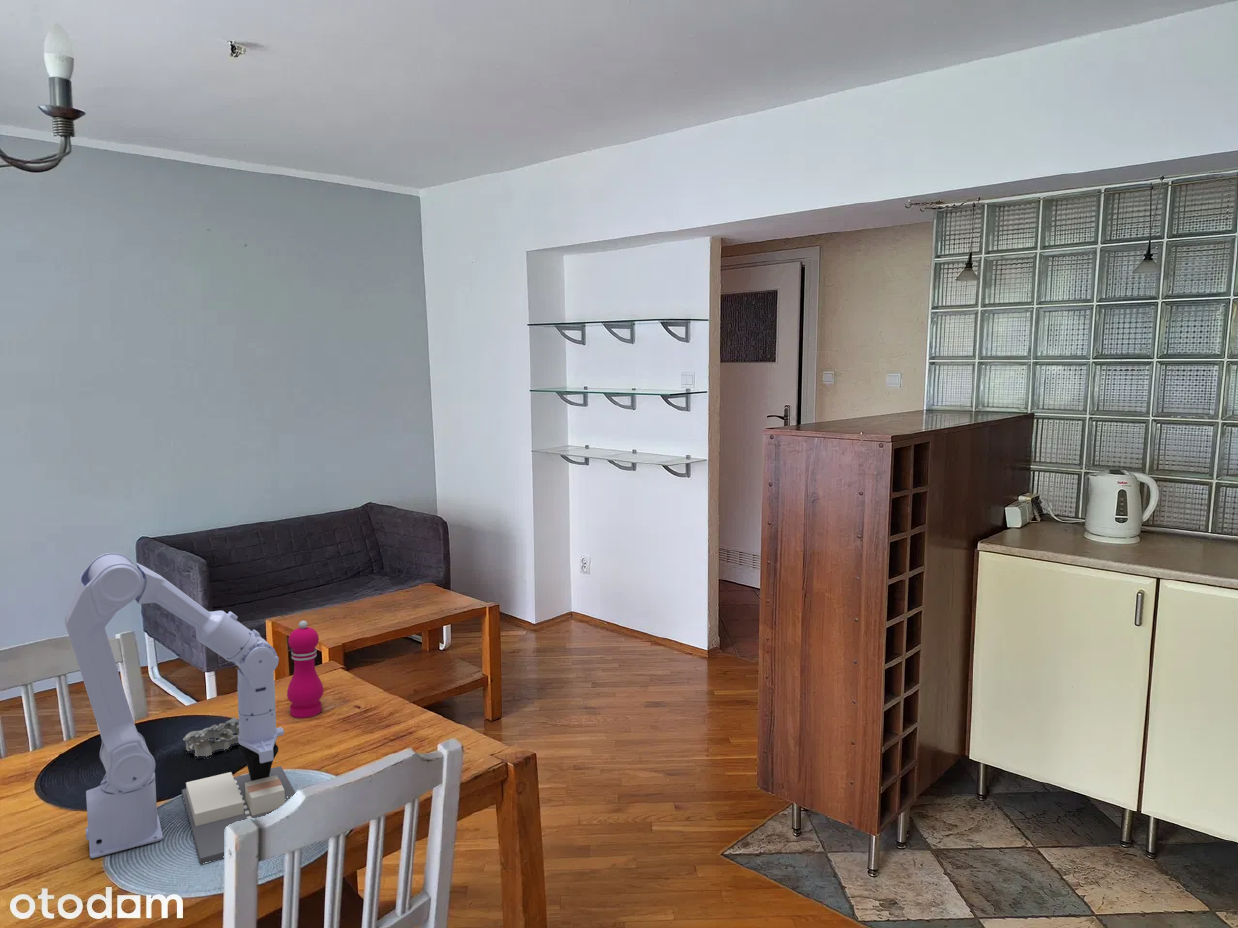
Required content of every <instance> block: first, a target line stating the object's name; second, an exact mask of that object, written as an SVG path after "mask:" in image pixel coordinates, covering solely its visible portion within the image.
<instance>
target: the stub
mask: <svg viewBox="0 0 1238 928" xmlns="http://www.w3.org/2000/svg"><path fill="white" fill-rule="evenodd" d="M245 798H246V802H247V805H248V807H249V809H250V812H251V814H252V816H254V815H258V814H261V813H265V812H269V811H273V810H276V809H278V808H279V807H280V806H282V805H283V804H284V803H285V792H284V788H283V786H282V783H281V781H280V779H279V778H278V776H277V775H275V776H270V777H266V778H262V779H258V780H254V781H250V782H246V783H245Z"/></svg>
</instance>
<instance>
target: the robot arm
mask: <svg viewBox="0 0 1238 928" xmlns="http://www.w3.org/2000/svg"><path fill="white" fill-rule="evenodd" d="M135 565H136V566H135ZM135 565H134V563H133V562H132V560H131V559H130V558H129V557H128V556H126V555H124V554H122V553H119V552H107V553H106V552H105V553H103V554H100V555H98V556H97V557H95V558H94V559H92V561H91V562H90V563H89V564H88V566H87V567H85V569H84V570H83V571H82V572H81V573H80V575H79V577H78V578H79V579H78V581H77V582H78V583H77V585H76V589H75V591H74V593H73V596H72V599H71V601H70V604H69V606H68V610H67V611H66V614H65V616H64V625H65V628H66V631H67V634H68V637H69V641H70V644H71V646H72V650H73V652H74V655H75V659H76V662H77V666H78V668H79V671H80V675H81V678H82V680H83V683H84V686H85V690H86V692H87V696H88V699H89V702H90V705H91V708H92V713H93V716H94V719H95V722H96V724H97V726H98V731H99V735H100V738H101V746H100V750H99V759H100V762H101V763H102V765H103V768H104V770H105V772H106V773H105V774H104V776H103V778H102V780H101V782H100V785H98V786H97V787H94V788H90V789H88V790H85V795H86V797H85V798H86V799H85V800H86V814H87V827H85V840H86V841H88V845H89V846H88V847H89V858H90V859H95V858H99V857H103V856H106V855H110V854H114V853H118V852H122V851H125V850H128V849H133V848H135V847H136V848H137V847H140V846H145V845H148V844H152V843H156V842H159V841H162V840H163V838H164V835H163V831H162V826H161V821H160V816H159V815H158V809H157V808H158V805H157V789H156V787H157V785H156V773H155V769H156V760H155V757H154V756H153V755H152V754H151V751H149V748H148V746H147V743H146V740H145V737H144V736H143V735H142V734H141V733H140V732H138V730H137V727H136V725H135V721H134V717H133V715H132V712H131V709H130V706H129V705H130V704H129V703H128V699H127V695H126V693H125V689H124V686H123V682H122V680H121V676H120V674H119V670H118V667H117V664H116V663H117V662H116V659H115V657H114V654H113V650H112V648H111V647H112V646H111V644H110V641H109V638H108V635H107V632H106V626H107V625H108V624H109V623H110V621H111V620H112V619H113V618H114V616H115V615H116V614H117V612H119V611H121V610H122V609H124V607H126V606H128V605H129V604H130V603H132V602H133V601H136V603H137V604H138V605H142V604H143V605H144V604H145V605H146V604H157V605H159V606H160V607H162V608H163V609H164V610H167V611H168V612H169V613H171V614H173V615H174V616H176V617H177V618H179V619H181V620H182V621H184V622H185V623H187V624H189V625H190V626H192V627H193V628H195V636H196V637H195V638H196V640H197V641H198V642H200V644H203V646H205V647H207V648H209V649H210V650H211V651H213V652H214V653H215V654H217V655H219V656H220V657H222V658H223V659H225V660H226V661H227V662H231V663H233V665H234V666H237V667H238V669H237V670H236V672H237V684H236V685H237V706H238V707H237V711H238V713H237V715H238V721H239V736H238V742H239V744H240V745H241V746H238V750H239V752H240V754H241V756H242V759H243V760H244V761H245V762H246V766H247V767H246V768H247V770H248V774H249V775H250V779H251V781H254V780H258V779H262V778H266V777H269V775H270V770H271V768H272V766H273V762H274V760H275V758H276V756H277V754H278V752H279V747H278V744H277V739H278V737H279V736H284V734H285V730H284V728H283V727H277V717H276V716H277V715H276V713H277V712H276V687H275V686H276V683H275V677H274V675H275V674H274V673H275V670H276V669H277V667H278V665H279V661H280V657H279V656H278V654H277V651H276V650H275V648H274V647H273V646H272V645H271V644H270V643H269V642H267V640H266V639H264V638H263V637H262V636H261V634H260V632H259V631H257V630H256V629H252V630H251V629H249V628H248V627H246V626H245V625H244V624H242V623H241V622H240V621H238V617H239V616H237V614H235V613H234V612H232V611H228V613H226V611H224V610H215V611H209V610H208V609H206V608H204V607H203V606H202V605H201V604H199V603H198V602H197V601H195V600H194V599H192V597H190V596H188V595H187V594H186V593H185V592H184V591H182V590H181V589H179V587H177V586H175V585H174V584H173V583H171V581H168V580H167V579H166V578H164V577H163V576H162V575H160V574H159V573H156V572H155V571H153V570H151V569H150V568H148V567H146V566H145V565H142V564H140V563H138V562H135Z"/></svg>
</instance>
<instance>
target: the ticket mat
mask: <svg viewBox="0 0 1238 928" xmlns="http://www.w3.org/2000/svg"><path fill="white" fill-rule="evenodd" d="M275 775H277V776H278V778H279V779H280V781H281V783H282V786H283V788H284V792H285V799H286V800H285V802H286V801H287V800H288V799H290V797H291V796H293V795H294V794H295V793H296V791H295V790H294V788H293V786H292V784H291V782H290V780H289V778H288V777H287V775H286V773H285V771H284V769H283V767H282V765H280V766H276V767H271V770H270V775H269V777H270V776H275ZM250 781H251V779H250V775H249V773H246V774H242V775H238V776H233V773H232V771H230V772H224V773H221V774H217V775H216V774H215V775H212V776H209V777H204V778H200V779H195V780H190V781H187V782H185V788H184V789H181V796H183V797H182V799H183V798H184V801H183V803H184V802H185V804H184V807H185V806H186V808H185V811H186V810H187V812H186V815H187V814H188V816H187V818H189V819H188V822H189V821H190V823H189V826H190V825H191V827H190V829H192V831H191V834H192V833H193V835H192V838H193V837H194V838H193V842H194V841H195V842H194V845H195V844H196V846H195V850H196V849H197V850H196V853H197V856H199V857H198V860H200V861H199V864H202V865H204V864H203V863H205V862H209V861H213V860H216V861H220V860H222V859H224V858H223V856H224V829H225V827H226V826H228V825H229V824H232V823H234V822H236V821H241V820H245V819H250V818H257V817H261V816H265V815H266V814H269V813H271V812H272V811H269V812H265V813H261V814H258V815H254V816H252V814H251V812H250V809H249V807H248V805H247V802H246V798H245V783H246V782H250ZM287 796H288V798H287ZM273 811H274V810H273ZM218 859H219V860H218ZM213 862H214V861H213ZM209 863H210V862H209Z"/></svg>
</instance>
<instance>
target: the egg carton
mask: <svg viewBox="0 0 1238 928" xmlns="http://www.w3.org/2000/svg"><path fill="white" fill-rule="evenodd" d="M234 733H237V735H233V734H234ZM238 736H239V719H238V718H236V717H235V716H234V717H232V718H230V719H229V720H226V721H225V722H222V723H221V722H220V723H219V724H218V725H217V724H215V723H214V724H212V725H211V726H210V727H205V728H203V729H202V730H201V729H200V730H194V731H193V730H192V731H190V732H188V733H187V734H185V736H184V737H183V739H182V740H183V741H185V751H186V750H187V751H191V750H195V753H194V757H195V756H197V757H198V756H206V757H207V756H209V755H212V752H213V751H215V750H218V749H224V750H225V749H228V748H229V747H230V745H231V744H234V743H239V742H238ZM209 738H215V739H209ZM216 738H219V739H218V740H216ZM207 739H208V740H207ZM212 756H213V755H212Z"/></svg>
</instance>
